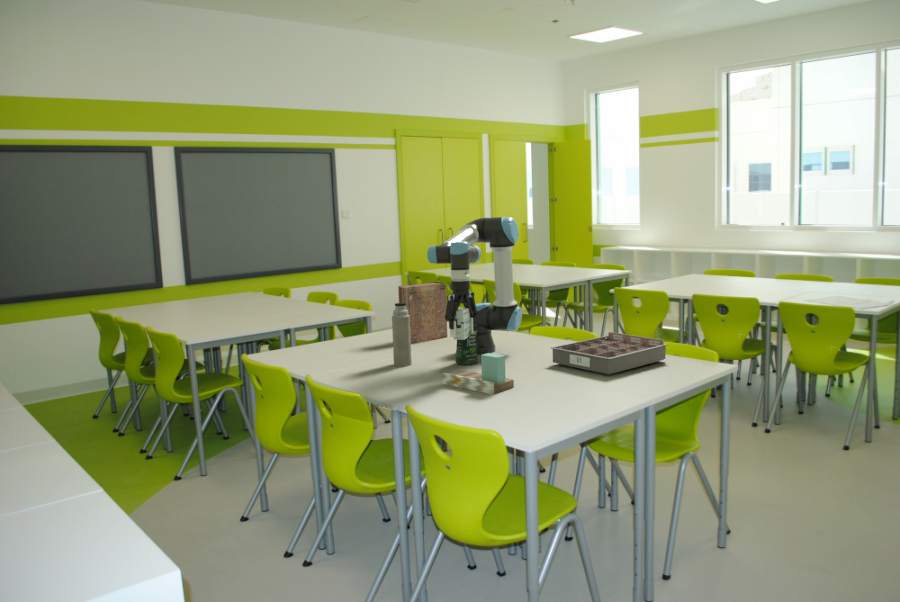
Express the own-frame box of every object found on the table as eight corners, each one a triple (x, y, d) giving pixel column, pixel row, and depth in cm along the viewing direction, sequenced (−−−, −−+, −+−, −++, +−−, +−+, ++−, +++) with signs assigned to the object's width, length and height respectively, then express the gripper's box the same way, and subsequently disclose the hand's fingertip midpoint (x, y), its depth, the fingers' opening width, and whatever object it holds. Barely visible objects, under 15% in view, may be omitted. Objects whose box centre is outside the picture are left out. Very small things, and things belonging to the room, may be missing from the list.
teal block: (481, 380, 254) (481, 354, 253) (489, 378, 258) (488, 352, 256) (498, 383, 249) (497, 357, 248) (505, 381, 252) (504, 355, 251)
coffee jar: (462, 366, 292) (461, 324, 289) (453, 363, 298) (451, 322, 296) (480, 363, 297) (479, 322, 294) (470, 360, 303) (469, 320, 301)
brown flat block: (441, 383, 263) (441, 373, 262) (463, 377, 272) (463, 366, 272) (492, 394, 245) (491, 383, 244) (513, 387, 254) (513, 376, 254)
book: (410, 344, 346) (408, 287, 342) (400, 341, 353) (397, 286, 349) (447, 337, 362) (445, 282, 358) (436, 335, 369) (435, 281, 365)
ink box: (459, 335, 274) (458, 307, 272) (470, 336, 272) (470, 307, 271) (452, 339, 266) (451, 310, 264) (464, 340, 264) (463, 310, 262)
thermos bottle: (399, 362, 304) (396, 301, 300) (414, 363, 301) (412, 302, 297) (390, 365, 297) (388, 304, 293) (406, 367, 294) (403, 304, 290)
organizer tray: (550, 365, 289) (549, 343, 288) (608, 351, 313) (608, 331, 312) (609, 378, 264) (609, 354, 263) (667, 362, 288) (668, 340, 287)
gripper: (448, 283, 255) (449, 340, 258) (485, 278, 271) (486, 332, 274) (434, 282, 261) (436, 338, 263) (471, 277, 276) (473, 330, 279)
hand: (461, 335), depth 269 cm, fingers closed on ink box, 9 cm apart
